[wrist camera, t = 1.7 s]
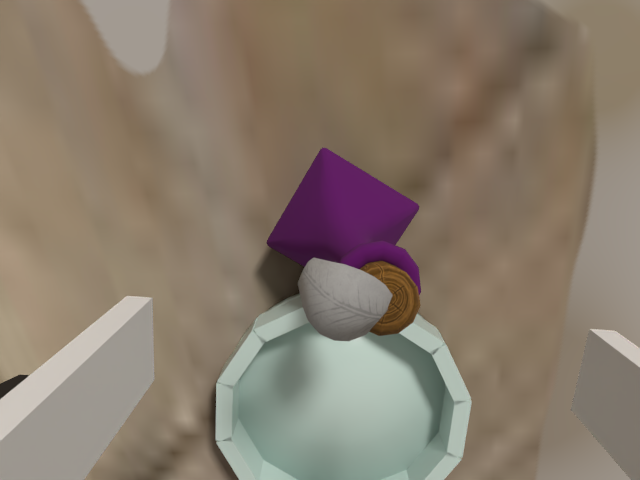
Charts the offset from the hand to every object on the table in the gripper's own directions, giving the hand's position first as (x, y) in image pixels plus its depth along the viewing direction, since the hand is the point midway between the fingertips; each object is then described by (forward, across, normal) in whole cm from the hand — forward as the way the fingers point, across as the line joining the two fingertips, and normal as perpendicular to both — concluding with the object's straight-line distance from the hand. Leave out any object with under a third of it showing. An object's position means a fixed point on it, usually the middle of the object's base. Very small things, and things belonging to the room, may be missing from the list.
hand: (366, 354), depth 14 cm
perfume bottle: (+20, 0, 0) cm, 20 cm away
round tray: (+20, +1, -14) cm, 24 cm away
